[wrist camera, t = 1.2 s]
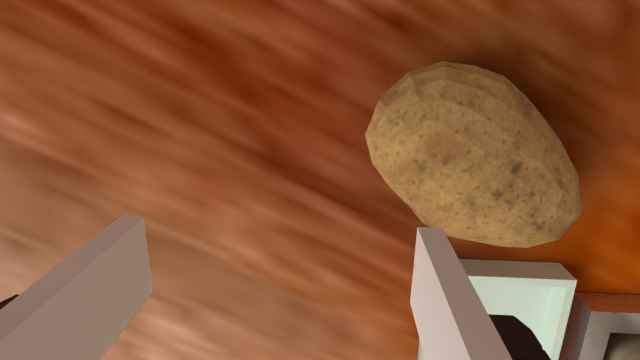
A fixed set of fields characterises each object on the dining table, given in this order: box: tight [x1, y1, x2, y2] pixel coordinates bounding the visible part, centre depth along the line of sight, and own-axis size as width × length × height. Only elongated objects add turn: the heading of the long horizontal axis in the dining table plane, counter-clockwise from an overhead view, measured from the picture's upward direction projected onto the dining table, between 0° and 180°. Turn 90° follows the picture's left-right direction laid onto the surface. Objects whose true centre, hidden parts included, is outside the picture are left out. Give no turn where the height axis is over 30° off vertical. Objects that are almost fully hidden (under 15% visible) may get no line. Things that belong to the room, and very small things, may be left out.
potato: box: [365, 61, 582, 248], centre depth 26 cm, size 10×14×8 cm
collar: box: [558, 292, 640, 360], centre depth 32 cm, size 9×9×2 cm
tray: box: [417, 259, 577, 360], centre depth 33 cm, size 12×10×2 cm
